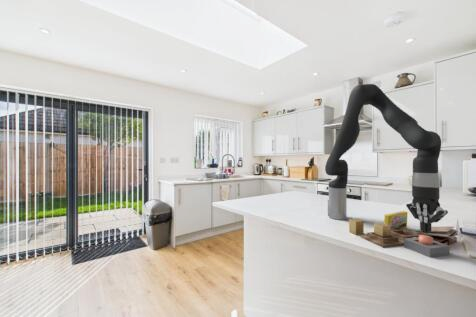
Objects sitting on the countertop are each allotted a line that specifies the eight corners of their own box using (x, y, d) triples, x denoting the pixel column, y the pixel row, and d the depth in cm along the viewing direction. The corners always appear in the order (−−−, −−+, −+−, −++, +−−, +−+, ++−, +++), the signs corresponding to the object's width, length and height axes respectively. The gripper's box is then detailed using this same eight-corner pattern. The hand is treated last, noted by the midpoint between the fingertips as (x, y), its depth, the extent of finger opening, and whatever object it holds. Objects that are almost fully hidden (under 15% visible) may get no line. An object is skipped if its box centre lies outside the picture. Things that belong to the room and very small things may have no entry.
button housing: (403, 246, 81) (403, 238, 81) (422, 244, 83) (422, 236, 83) (429, 257, 72) (429, 248, 72) (449, 254, 74) (449, 245, 74)
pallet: (360, 237, 91) (360, 231, 91) (401, 233, 96) (401, 227, 96) (383, 247, 80) (383, 241, 80) (428, 242, 85) (428, 236, 85)
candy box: (388, 234, 95) (388, 215, 95) (383, 232, 97) (383, 214, 97) (407, 228, 102) (407, 211, 102) (402, 227, 104) (402, 210, 104)
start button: (415, 244, 79) (415, 235, 79) (424, 243, 80) (424, 234, 80) (427, 249, 75) (427, 239, 75) (436, 248, 76) (436, 238, 76)
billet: (349, 232, 97) (349, 219, 97) (356, 231, 98) (356, 218, 98) (355, 235, 93) (355, 221, 93) (363, 234, 94) (363, 221, 94)
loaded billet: (374, 237, 88) (374, 223, 88) (382, 236, 89) (381, 222, 89) (382, 241, 84) (382, 226, 84) (390, 240, 85) (390, 225, 85)
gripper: (399, 183, 83) (400, 227, 83) (437, 187, 70) (438, 240, 70) (414, 183, 85) (415, 226, 85) (454, 187, 72) (455, 238, 72)
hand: (425, 232), depth 77 cm, fingers closed
